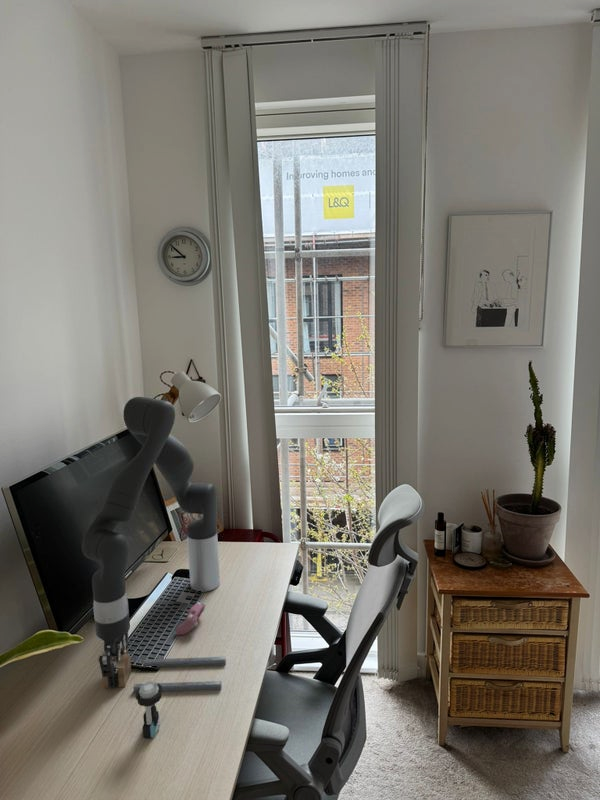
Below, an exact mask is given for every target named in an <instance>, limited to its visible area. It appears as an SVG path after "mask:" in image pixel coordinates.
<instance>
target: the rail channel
mask: <svg viewBox="0 0 600 800" xmlns="http://www.w3.org/2000/svg"><path fill="white" fill-rule="evenodd" d="M142 664H143V668H144V669H145V668H146V666H149V665H150V666H152V665H153V666H157V667H156V668H168V667H169V668H174V667H175V668H176V667H203V666H205V667H206V666H226V665H227V657H226V656H211V657H210V656H209V657H208V656H206V657H180V658H177V657H176V658H153V659H152V658H150V659H144V660H143V663H142ZM146 669H147V668H146ZM157 683H158V684H160V685H161V686H162V693H168V692H171V693H172V692H197V691H200V692H201V691H221V690H222V686H223V685H222V681H221V680H216V681H215V680H213V681H212V680H211V681H210V680H209V681H185V682H184V681H183V682H181V681H180V682H157ZM142 684H143V683H134V684H133V688H132V689H133V694H136V691H137V690H138V688H140V687H141V685H142Z"/></svg>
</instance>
